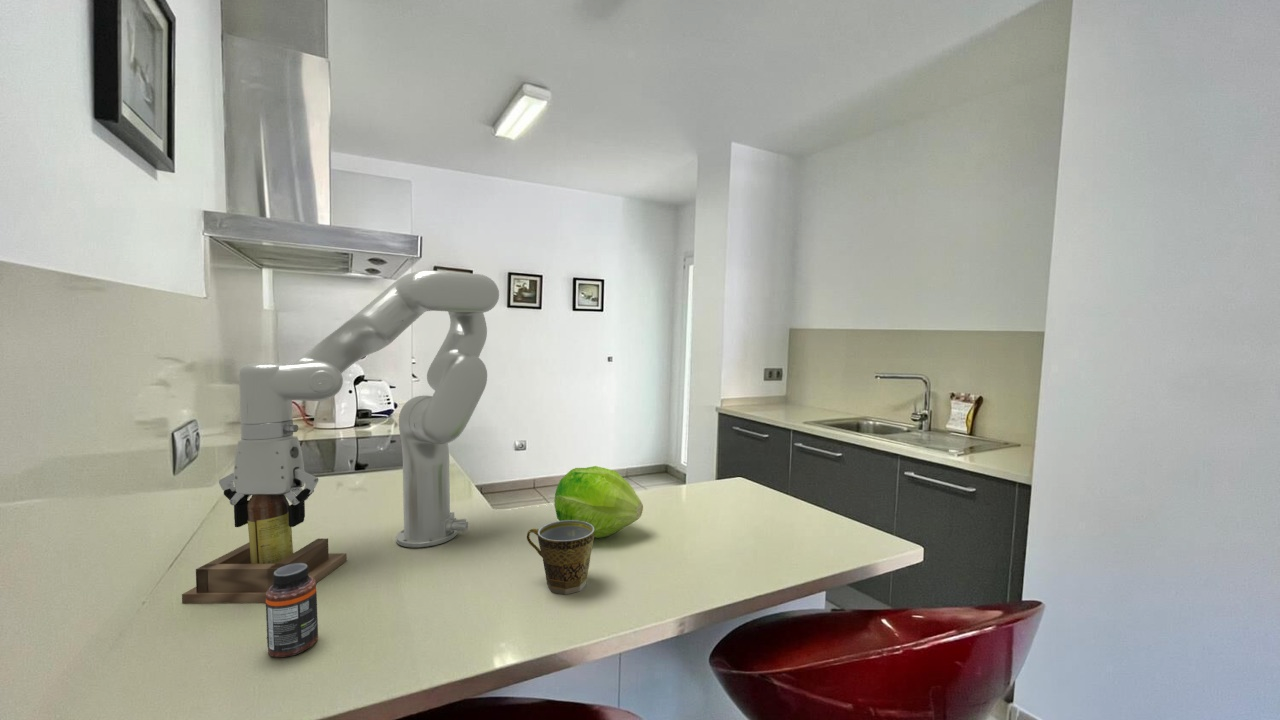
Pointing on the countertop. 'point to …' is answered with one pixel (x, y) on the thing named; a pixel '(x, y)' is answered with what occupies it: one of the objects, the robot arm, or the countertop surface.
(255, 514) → the sauce bottle
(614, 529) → the lettuce
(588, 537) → the ceramic cup
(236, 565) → the bottle stand
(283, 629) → the supplement bottle
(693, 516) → the countertop surface
